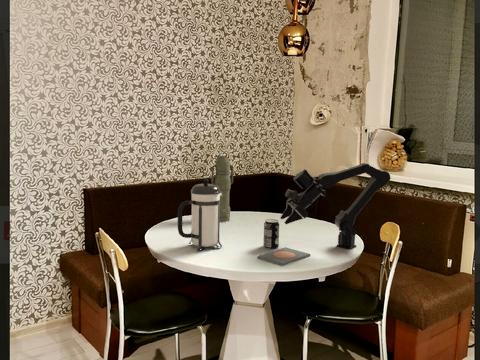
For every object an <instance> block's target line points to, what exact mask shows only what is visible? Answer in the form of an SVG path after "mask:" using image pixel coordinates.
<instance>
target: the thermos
mask: <svg viewBox="0 0 480 360" xmlns="http://www.w3.org/2000/svg"><path fill="white" fill-rule="evenodd" d="M214 171H215V173H214ZM233 183H234V167H233V165H231V163H230V159H229V156H227V155H219V156H217V157H216V160H215V164H213V165H212V166H211V184H214V185H216V186H218V187H219V189H220V190H221V193H222V196H220V221H228V222H230V221H229V220H231V218H230V217H231V207H230V191H231V185H233Z"/></svg>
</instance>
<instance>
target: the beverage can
mask: <svg viewBox="0 0 480 360" xmlns="http://www.w3.org/2000/svg"><path fill="white" fill-rule="evenodd" d="M263 224H264V225H263V247H264V248H265V249H268V250H277V249H278V248H279V245H280V244H279V243H280V238H279V237H280V222H279V220H278V219H275V218H274V219H273V218H268V219H265V221H264V223H263Z"/></svg>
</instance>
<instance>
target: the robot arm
mask: <svg viewBox="0 0 480 360" xmlns="http://www.w3.org/2000/svg"><path fill="white" fill-rule="evenodd" d="M362 174H363V175H364V174H366V175H367V176H370V177H369V181H368V183H367V185H366V186H365V188H364V189H363V190H362V191H361V193H360V194H359V195H358V196H357V197H356V199H355V200H354V201H353V202H352V204H351V205H350V206H349V207H348V208H347V209H346V210H343V209H341V210H340V211H339V213H338V214H337V215H336V216H335V219H334V223H335V226H336V227H337V229H338V231H339V234H338V237H337V244H336V247H339V248H343V249H346V250H347V249H348V250H351V249H354V248H356V247H357V245H356V244H355V242H356V234H357V232H358V231H357V229H356V228H355V227H354V226H353V225H354V224H355V221H356V219H357V216H358V215H359V213H360V212H361V211H362V209H363V208H364V207H365V206H366V204H368V202H369V201H370V200H371V199H372V197H373V196H374V195H375V194H376V193H377V191H379V190H380V189H382V188H384V187H385V186H386V185H387V184H388V183H389V182H390V180H391V174H390V173H389V172H388V171H387V170H383V169H378V168H376V167H374V166H372V165H370V164H368V163H365V162H362V163H360V164H358V165H354V166H352V167H348V168H345V169H342V170H339V171H336V172H325V173H321V174H319V175H318V176H317V175H316V176H312V175H310V173H309V171H308V170H307V169H303V170H301V171H300V172H299V173H296V174H295V175H294V176H293V179H292V180H294V182H295V183H296V184H297V185H298V187H300V188H301V189H305V190H304V191H303V192H298V191H296V190H291V189H290V188H287V190H286V191H285V193H284V196H285V197H286V198H287V200H286V206H285V207H286V208H285V210H283V212H282V214H281V216H280V219H281V220H285V221H284V224H285V225H288V224H292V223H294V222H297V221H300V220H303V219H306V218H307V217H309V212H308V211H307V209H308V207H309V206H312V205H313V204H314V203H313V202H315V201H316V200H317V198H319V197H320V196H322V197H324V198H325V197H326V192H327V191H326V190H325V189H330V188H331V187H333V186H334V187H335V185H337V184H338V183H340V182H341V181H345V180H348V179H351V178H354V177H357V176H360V175H362ZM323 188H324V189H323Z"/></svg>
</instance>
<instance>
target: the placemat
mask: <svg viewBox="0 0 480 360" xmlns="http://www.w3.org/2000/svg"><path fill="white" fill-rule="evenodd" d="M309 257H311V253H309V252H305V251H300V250H297V249H293V248H290V247H282V248H279V249H278V248H277V249H274V250H272V251H270V252H266V253H262V254H259V255H257V259H258V260H262V261H265V262H269V263H273V264H276V265H279V266H282V267H283V266H284V267H285V266H286V265H289V264H292V263H294V262H295V263H296V262H298V261H300V260H304V259H306V258H309Z"/></svg>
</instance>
